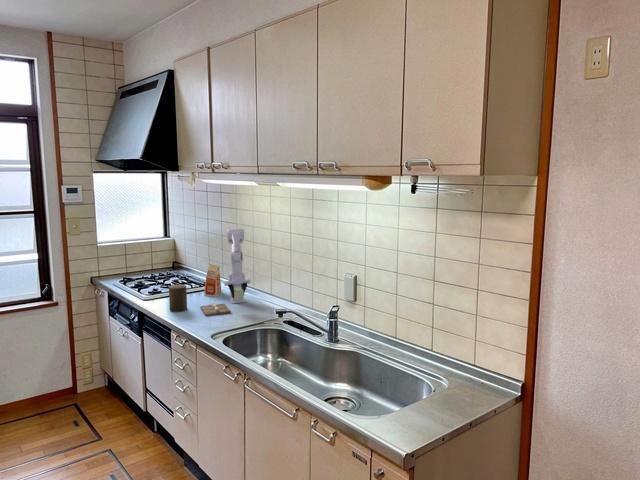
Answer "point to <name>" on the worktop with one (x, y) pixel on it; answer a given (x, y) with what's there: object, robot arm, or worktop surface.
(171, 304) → the pillar candle
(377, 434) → the worktop surface
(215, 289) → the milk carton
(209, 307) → the cleat board
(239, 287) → the robot arm
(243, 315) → the worktop surface
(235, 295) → the saddle block
